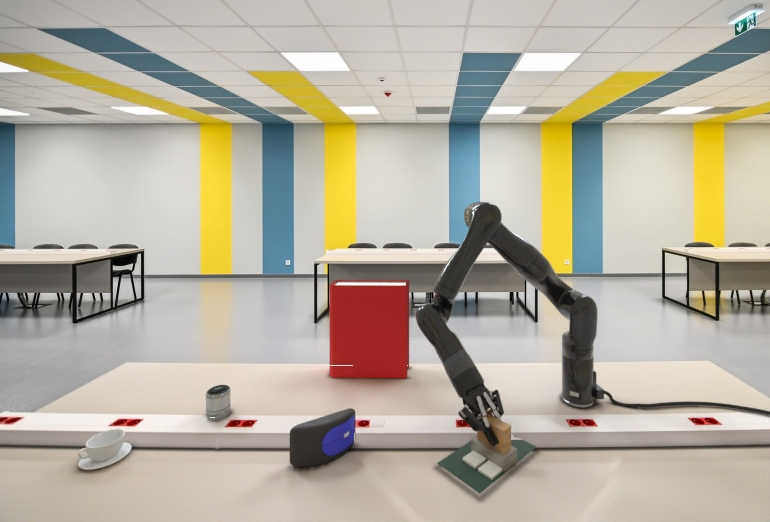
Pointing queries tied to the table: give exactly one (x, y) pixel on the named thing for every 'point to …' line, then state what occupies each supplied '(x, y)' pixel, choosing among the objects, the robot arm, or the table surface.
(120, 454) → the teacup
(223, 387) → the camera lens
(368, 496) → the table surface
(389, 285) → the book
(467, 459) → the white square tile
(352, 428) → the computer mouse
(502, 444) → the eraser
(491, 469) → the smudge
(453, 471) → the slate board
